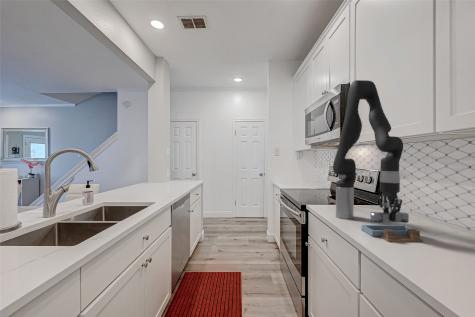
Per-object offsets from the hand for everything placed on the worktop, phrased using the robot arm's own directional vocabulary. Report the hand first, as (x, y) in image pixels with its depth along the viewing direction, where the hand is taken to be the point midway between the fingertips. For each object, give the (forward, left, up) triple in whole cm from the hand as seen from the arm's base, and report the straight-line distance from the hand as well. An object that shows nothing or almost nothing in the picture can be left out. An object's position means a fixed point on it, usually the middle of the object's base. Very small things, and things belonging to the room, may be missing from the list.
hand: (389, 219), depth 108 cm
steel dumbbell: (0, 0, -1) cm, 1 cm away
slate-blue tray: (0, 0, -6) cm, 6 cm away
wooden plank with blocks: (+8, 0, -6) cm, 10 cm away
